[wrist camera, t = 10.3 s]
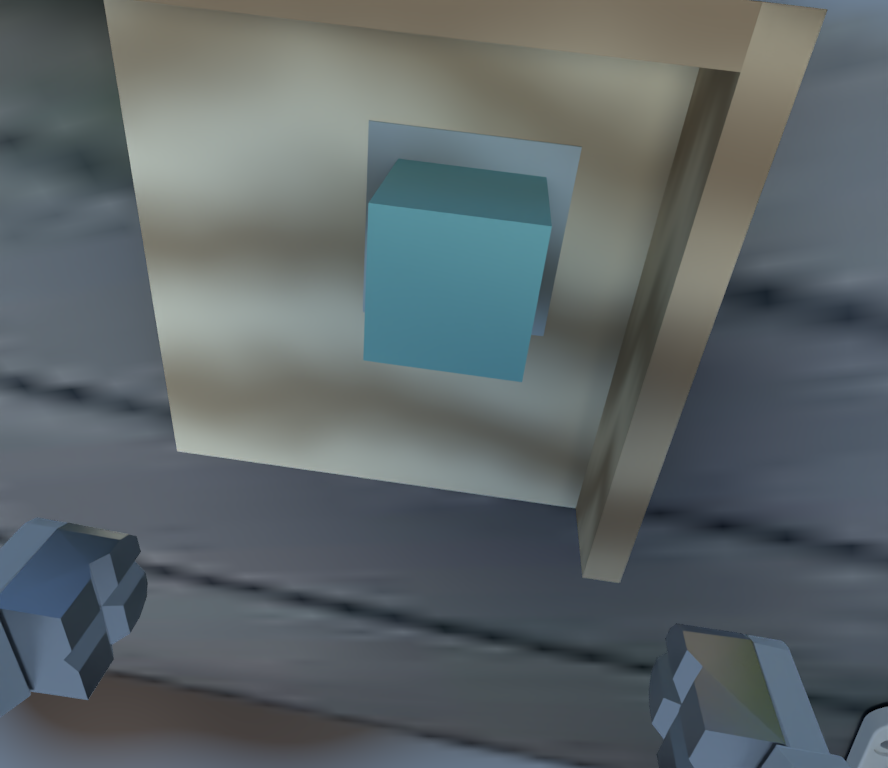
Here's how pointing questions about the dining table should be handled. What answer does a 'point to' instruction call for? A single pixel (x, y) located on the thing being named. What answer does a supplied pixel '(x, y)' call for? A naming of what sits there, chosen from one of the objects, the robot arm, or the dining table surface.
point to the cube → (455, 268)
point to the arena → (467, 145)
